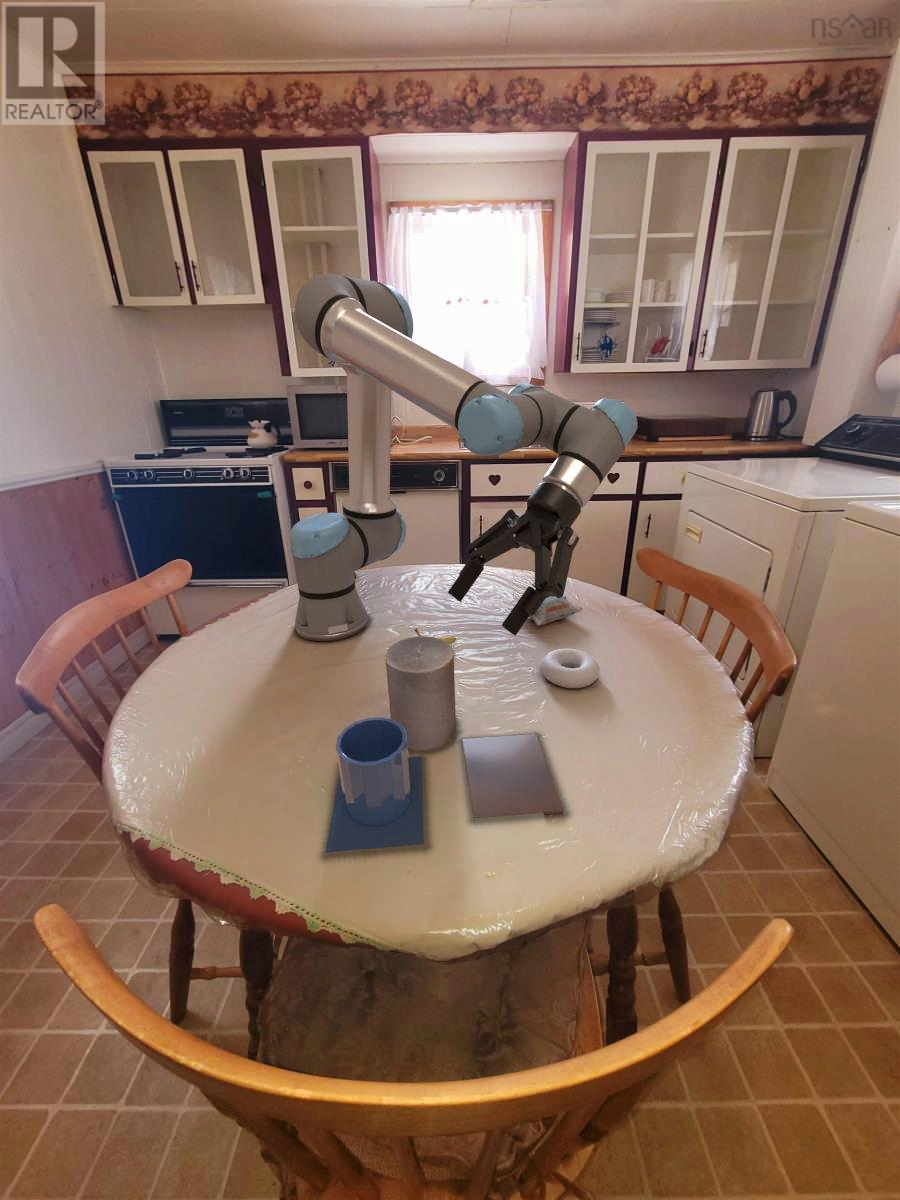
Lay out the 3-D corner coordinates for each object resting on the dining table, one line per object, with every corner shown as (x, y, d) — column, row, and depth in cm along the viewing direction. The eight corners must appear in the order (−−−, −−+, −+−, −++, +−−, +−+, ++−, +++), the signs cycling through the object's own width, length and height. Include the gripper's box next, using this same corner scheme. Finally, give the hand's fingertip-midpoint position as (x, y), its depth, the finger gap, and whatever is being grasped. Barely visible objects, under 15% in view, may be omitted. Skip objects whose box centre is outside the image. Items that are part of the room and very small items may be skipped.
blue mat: (342, 764, 67) (341, 762, 67) (421, 759, 68) (421, 756, 67) (326, 855, 54) (325, 852, 54) (424, 846, 55) (423, 843, 55)
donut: (539, 690, 82) (600, 694, 80) (540, 672, 81) (602, 677, 79) (541, 659, 91) (596, 662, 89) (542, 643, 89) (598, 646, 87)
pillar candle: (425, 702, 79) (420, 621, 73) (469, 729, 73) (468, 643, 67) (378, 731, 73) (369, 645, 67) (422, 763, 67) (416, 671, 61)
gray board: (462, 741, 71) (461, 738, 70) (536, 736, 71) (536, 733, 71) (473, 820, 58) (473, 817, 58) (563, 813, 59) (563, 810, 58)
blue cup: (349, 777, 64) (340, 719, 60) (411, 772, 65) (406, 715, 61) (341, 829, 57) (331, 767, 53) (411, 823, 57) (406, 761, 53)
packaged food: (581, 619, 105) (583, 599, 103) (537, 633, 100) (538, 611, 98) (555, 605, 112) (556, 585, 110) (513, 617, 107) (513, 597, 105)
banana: (414, 648, 95) (413, 630, 94) (415, 644, 97) (414, 626, 95) (456, 648, 95) (455, 630, 93) (456, 644, 97) (456, 626, 95)
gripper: (641, 528, 64) (551, 659, 63) (520, 496, 84) (449, 596, 83) (619, 494, 60) (521, 635, 59) (496, 469, 79) (420, 574, 78)
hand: (478, 613), depth 71 cm, fingers open, 13 cm apart
